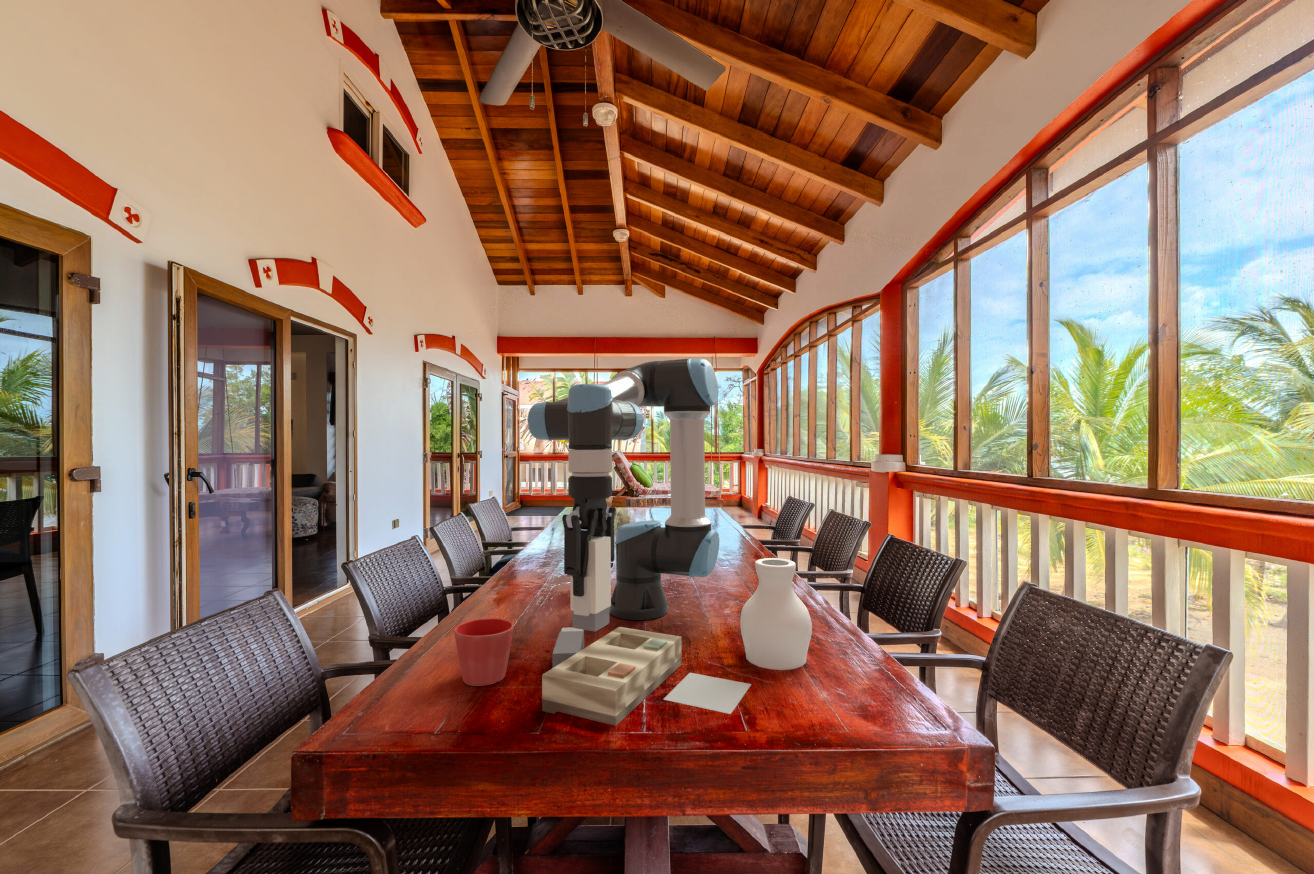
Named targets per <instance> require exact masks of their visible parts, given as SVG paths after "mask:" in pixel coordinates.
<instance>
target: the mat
mask: <svg viewBox="0 0 1314 874" xmlns="http://www.w3.org/2000/svg"><path fill="white" fill-rule="evenodd" d="M751 686H752V683H749V682H748V683H746V682H741V681H736V680H732V679H726V678H720V677H714V676H709V675H705V674H698V673H694V672H689V673H688V674H687V675H686V676H685V677H683V679H682V680H681V681H680V682H679V683H678V684H677V685H676V686H675V687H674V688H673V689H671V690H670V692H669V693H668V694H667V695H666V696H665V697H664V698H663V700H664V701H666V702H671V703H673V702H674V703H677V704H682V705H687V706H691V707H696V708H701V709H704V710H705V709H706V710H710V711H713V712H718V713H723V714H728V715H732V713H733V712H734V710H735V709H736V708H737V706H738V705H739V703H740V701H741V700H742V699H743V698H744V696H745V694H746V693H747V691H748V690H749V689H750V687H751Z"/></svg>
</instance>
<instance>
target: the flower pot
mask: <svg viewBox="0 0 1314 874" xmlns="http://www.w3.org/2000/svg"><path fill="white" fill-rule="evenodd" d="M514 629H515V624H514V623H513V622H512V621H510V620H508V619H505V618H479V619H472V620H469V621H466V622H462V623H461V624H458V625H457V626H456V627H455V628H454V631H453V632H454V639H455V646H456V651H457V657H458V663H459V670H460V674H461V678H462V681H463V683H465V684H466V685H468V686H474V687H482V686H490V685H493V684H496V683H497V682H501V681H502V680H503V679H504V678H505V677H506V673H507V670H508V669H507V668H508V664H509V660H510V659H509V658H510V652H511V648H512V641H513V636H514Z"/></svg>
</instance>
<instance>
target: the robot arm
mask: <svg viewBox="0 0 1314 874" xmlns="http://www.w3.org/2000/svg"><path fill="white" fill-rule="evenodd" d="M718 397H719V385H718V381H717V376H716V372H715V370H714V367H713V365H712V364H711V363H710V362H709V361H708V359H704V358H690V357H689V358H682V359H681V358H680V359H670V360H669V359H668V360H651V361H647V362H644V363H639V364H637V365H634V366H632V367H630V368H629V367H628V368H627V369H625V370H624V369H623V370H622V371H619V372H617V373H615V374H614V375H613V376H612V377H611V379H610V380H608V381H607V380H606V381H605V382H602V383H599V384H598V383H583V384H582V383H580V384H574V385H572V386H570V388H569V389H568V396H567V397H565V398H562V399H560V400H557V401H556V400H555V401H551V402H550V401H543V402H537V403H535V404H533V405H532V406H531V407H530V409H529V411H528V414H527V425H528V430H529V432H530V434H531V436H533V438H535V439H536V440H543V441H550V442H552V441H568V445H567V447H568V457H567V459H568V473H570V474H571V475H569V477H568V481H567V483H568V485H567V489H568V490H567V491H568V492H567V493H568V496H569V497H570V498H571V499H573V506H572V512H571V513H570V514H566V513H565V514H563V515H562V518H561V519H562V525H563V530H564V532H563V535H564V537H563V539H564V540H563V541H564V542H563V544H564V545H563V551H564V552H563V553H564V554H563V556H564V557H563V561H564V562H563V565H564V566H563V572H564V574H565V575H567V576H568V577H569V576H572V577H573V595H574V614H576V615H583V616H589V615H590V576H586V573H587V566H588V558H589V541H591V537H592V536H596V537H604V536H605V537H611V569H612V568H613V566H614V562H615V571H616V573H615V576H616V577H615V578H616V579H615V580H616V581H615V585H614V588H613V592H612V593H611V606H610V607H609V615H611V616H613V617H615V618H617V619H623V620H628V621H645V620H647V621H648V620H653V619H657V618H661V617H663V616H665V615H666V614H667V613H668V612H669V611H668V610H669V607H668V606H669V605H668V599H667V596H666V593H665V590H664V587H663V583H662V574H663V575H673V576H680V577H690V578H695V577H696V578H705V577H708V576H709V575H710V574H711V573H712V572H713V570H714V569H715V566H716V563H717V560H718V556H719V550H720V535H719V532H718V531H717V530H715V529H712V520H710V519H709V518H708V517H707V515H706V481H705V480H706V474H705V473H706V469H705V467H706V466H705V464H706V463H705V462H706V461H705V459H706V458H705V457H706V456H705V420H706V418H707V417H708V416H709V415H710V414H711V407H712V406H715V405H716V404H717V403H718ZM640 407H641V408H642V407H653V408H654V407H658V408H659V407H663V414H664V415H665V416H666V417H667V418H668V419H669V434H670V435H669V438H670V439H669V440H670V441H669V444H670V449H669V451H670V452H669V453H670V455H669V456H670V516H669V517H668V518H667V519H665V521H664V526H663V527H662V523H661V521H660V520H656V519H655V520H653V519H651V520H641V521H634V522H628V523H624V524H622V525H619V526H618V527H617V530H616V533H615V518H616V507H615V506H608V503H607V498H611V497H612V495H613V477H612V476H611V475H610V473H612V471H613V443H612V442H613V441H627V440H631V439H634V438H636V436H638V435H639V434H640V433H641V431H642V429H643V427H644V414H643V411H642V410H641V409H640ZM612 440H613V441H612Z"/></svg>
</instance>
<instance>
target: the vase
mask: <svg viewBox="0 0 1314 874" xmlns="http://www.w3.org/2000/svg"><path fill="white" fill-rule="evenodd" d="M754 562H755V563H754V567H755V571H756V574H757V578H758V586H757V588H756V590H755V591H754V593H752V595H751V596H750V598H749V599H747V601H746V602H745V603H744V604H743V607H742V609H741V612H740V633H741V637H742V638H741V639H742V642H743V646H744V652H745V659H746V660H747V661H748V662H749V663H750V664H753V665H754V666H756V667H759V668H763V669H768V670H776V671H787V670H796V669H798V668H801V667H803V666H804V665H805V664H807V659H808V658H807V657H808V652H809V647H810V643H811V639H812V633H813V632H812V631H813V623H812V618H811V615H810V612H809V610H808V607H806V605H805V604H804V602H803V601H802V600H801V599H800V597H798V595H797V594H796V591H794V588H793V580H794V576H795V574H796V570H797V569H796V568H797V567H796V565H797V564H796V562H795V561H793V560H791V559H785V558H779V557H769V558H768V557H766V558H759V559H757V560H755V561H754Z"/></svg>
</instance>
